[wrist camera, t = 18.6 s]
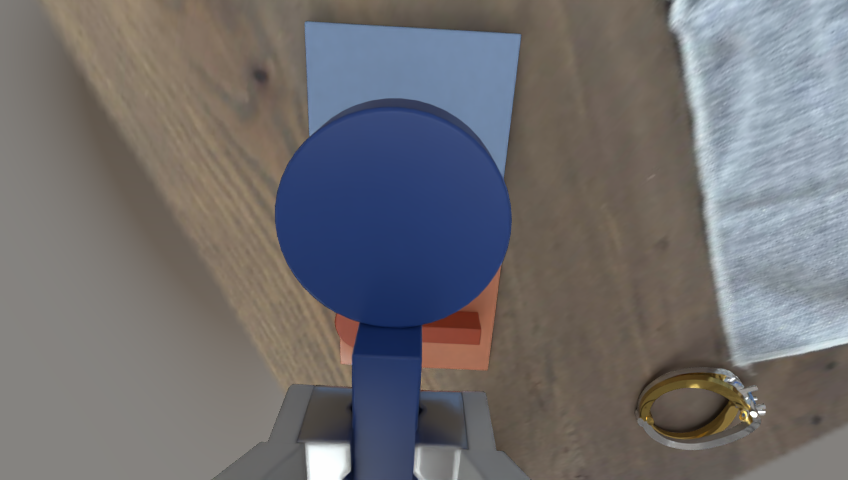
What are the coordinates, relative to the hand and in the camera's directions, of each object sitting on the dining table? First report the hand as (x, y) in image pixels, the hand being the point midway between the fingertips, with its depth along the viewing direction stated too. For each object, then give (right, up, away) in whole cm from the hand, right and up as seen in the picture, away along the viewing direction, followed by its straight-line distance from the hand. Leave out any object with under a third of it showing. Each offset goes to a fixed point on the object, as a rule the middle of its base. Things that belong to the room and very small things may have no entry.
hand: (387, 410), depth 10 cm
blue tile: (0, +10, +16) cm, 19 cm away
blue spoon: (0, +2, 0) cm, 2 cm away
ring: (+16, -9, +24) cm, 30 cm away
